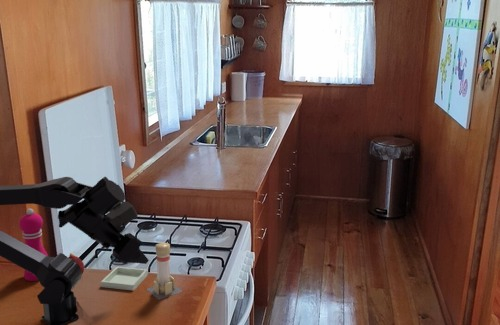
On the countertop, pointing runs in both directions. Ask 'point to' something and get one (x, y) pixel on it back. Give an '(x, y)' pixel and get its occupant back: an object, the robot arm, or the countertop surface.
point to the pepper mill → (32, 236)
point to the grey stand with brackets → (169, 289)
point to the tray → (124, 278)
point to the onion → (77, 261)
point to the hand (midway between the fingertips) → (139, 255)
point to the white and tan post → (163, 265)
